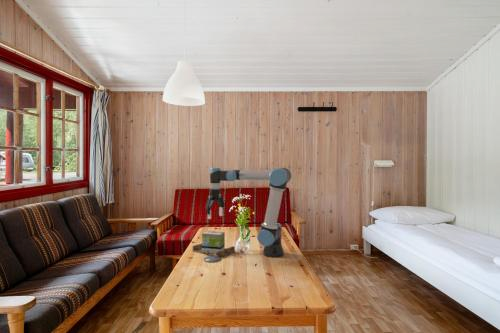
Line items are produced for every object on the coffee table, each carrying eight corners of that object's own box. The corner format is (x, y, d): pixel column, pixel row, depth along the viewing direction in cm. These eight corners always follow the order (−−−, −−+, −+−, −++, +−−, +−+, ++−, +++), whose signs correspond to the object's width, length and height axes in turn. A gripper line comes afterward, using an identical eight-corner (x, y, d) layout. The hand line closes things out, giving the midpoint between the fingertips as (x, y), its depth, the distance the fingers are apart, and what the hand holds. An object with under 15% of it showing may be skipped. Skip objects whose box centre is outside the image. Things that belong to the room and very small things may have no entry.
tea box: (201, 253, 233) (201, 233, 233) (206, 249, 243) (206, 230, 243) (220, 254, 230) (220, 234, 229) (225, 250, 240) (224, 231, 239)
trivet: (212, 255, 226) (212, 254, 226) (224, 259, 218) (224, 257, 218) (200, 260, 216) (200, 259, 216) (212, 263, 209) (212, 262, 209)
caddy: (209, 245, 252) (209, 241, 252) (234, 251, 235) (234, 246, 235) (192, 251, 238) (192, 245, 238) (217, 257, 221) (217, 252, 221)
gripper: (221, 187, 242) (221, 214, 243) (200, 189, 221) (200, 219, 221) (229, 187, 238) (229, 215, 239) (208, 190, 217) (208, 220, 217)
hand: (215, 217), depth 230 cm, fingers open, 13 cm apart
